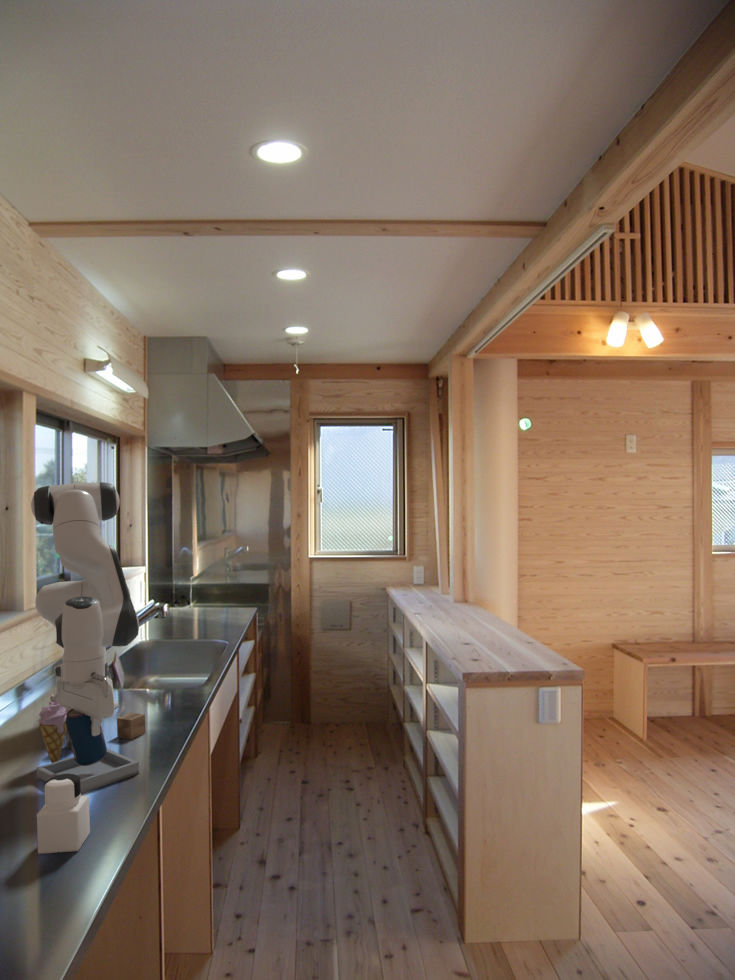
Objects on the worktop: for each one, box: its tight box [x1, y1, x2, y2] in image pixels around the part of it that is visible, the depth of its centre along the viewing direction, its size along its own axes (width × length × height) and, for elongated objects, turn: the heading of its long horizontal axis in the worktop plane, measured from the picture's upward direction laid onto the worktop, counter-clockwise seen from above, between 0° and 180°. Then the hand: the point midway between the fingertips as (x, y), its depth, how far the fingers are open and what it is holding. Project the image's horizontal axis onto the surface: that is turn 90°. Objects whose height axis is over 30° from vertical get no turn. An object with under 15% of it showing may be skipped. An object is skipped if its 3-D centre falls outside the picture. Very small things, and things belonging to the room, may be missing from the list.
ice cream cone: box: [38, 699, 67, 763], centre depth 171 cm, size 7×6×15 cm
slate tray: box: [36, 748, 140, 795], centre depth 162 cm, size 16×16×3 cm
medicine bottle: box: [35, 774, 91, 855], centre depth 131 cm, size 7×7×12 cm
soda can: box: [66, 709, 108, 766], centre depth 162 cm, size 7×7×12 cm
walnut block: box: [116, 712, 146, 740], centre depth 190 cm, size 5×5×5 cm
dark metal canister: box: [65, 710, 72, 750], centre depth 183 cm, size 5×5×9 cm
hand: (86, 731), depth 162 cm, fingers closed on soda can, 7 cm apart
